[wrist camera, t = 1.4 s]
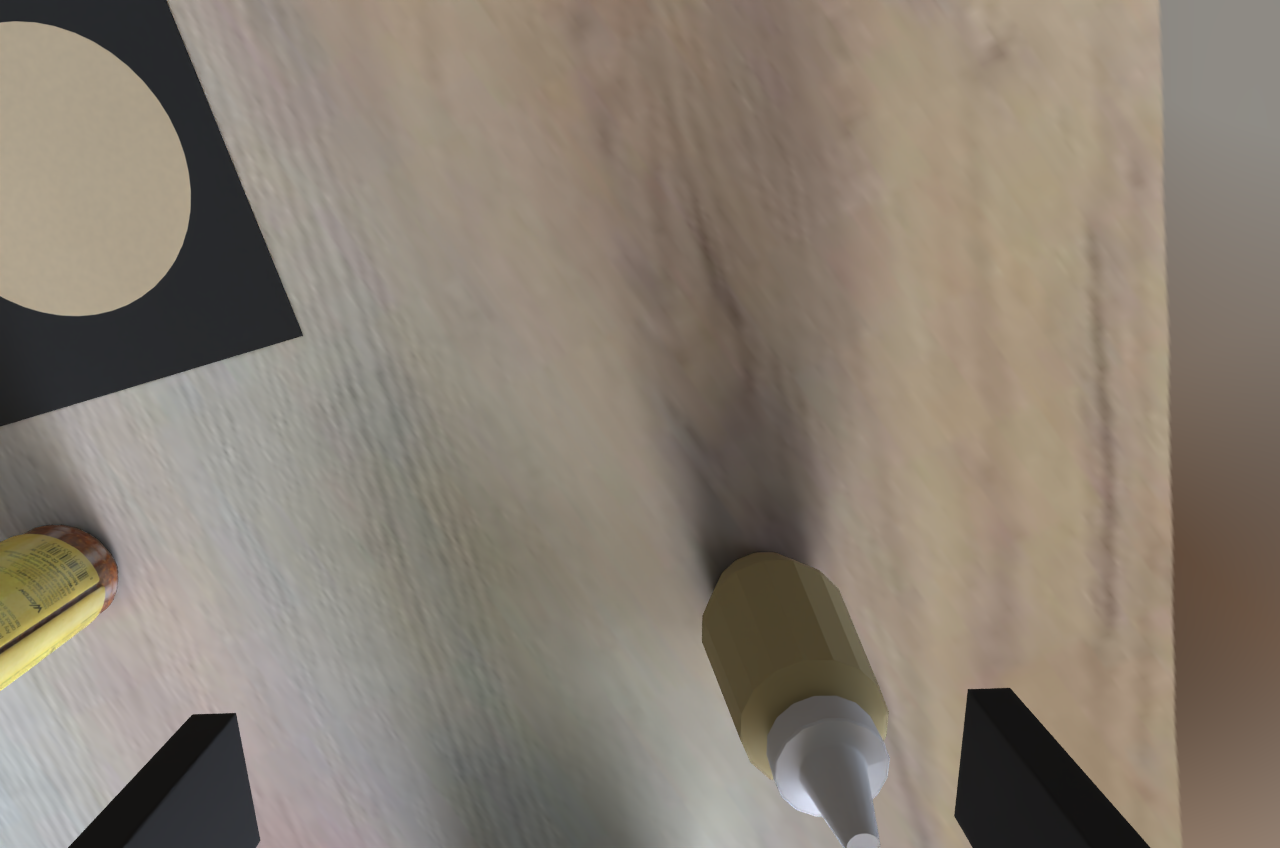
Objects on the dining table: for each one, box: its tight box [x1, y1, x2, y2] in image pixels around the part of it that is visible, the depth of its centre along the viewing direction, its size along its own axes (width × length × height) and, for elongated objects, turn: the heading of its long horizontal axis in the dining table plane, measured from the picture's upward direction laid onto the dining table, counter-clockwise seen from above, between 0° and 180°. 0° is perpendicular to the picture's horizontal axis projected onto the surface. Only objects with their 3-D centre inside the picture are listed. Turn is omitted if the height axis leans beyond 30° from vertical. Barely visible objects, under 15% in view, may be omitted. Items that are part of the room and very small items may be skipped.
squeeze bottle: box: [702, 552, 890, 848], centre depth 32 cm, size 8×8×18 cm
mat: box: [0, 0, 303, 426], centre depth 35 cm, size 22×18×1 cm
